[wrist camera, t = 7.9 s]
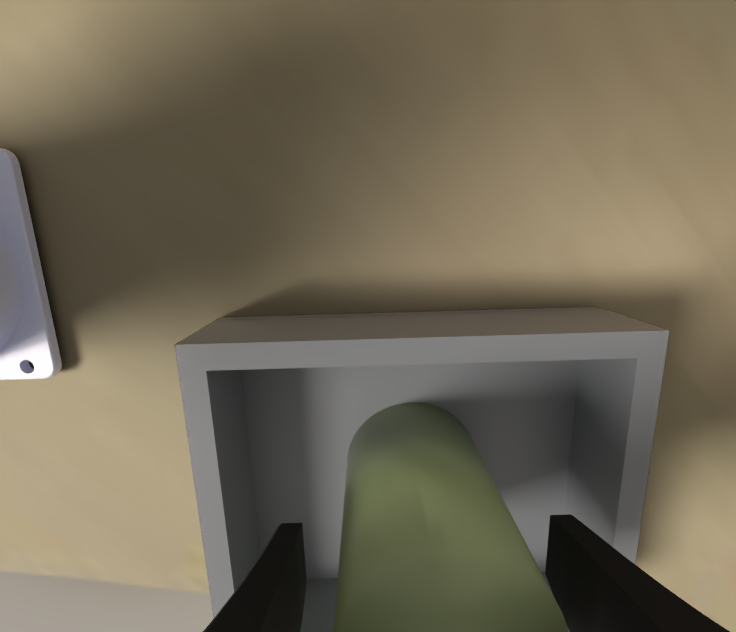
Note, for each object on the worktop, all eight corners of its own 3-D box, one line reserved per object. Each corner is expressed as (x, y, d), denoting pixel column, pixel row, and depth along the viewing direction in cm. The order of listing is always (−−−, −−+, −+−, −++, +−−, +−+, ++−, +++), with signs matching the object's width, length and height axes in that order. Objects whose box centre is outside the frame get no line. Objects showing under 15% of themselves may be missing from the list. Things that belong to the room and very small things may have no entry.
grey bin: (250, 583, 17) (221, 673, 13) (220, 317, 14) (174, 344, 11) (569, 574, 17) (620, 661, 13) (596, 306, 14) (669, 330, 11)
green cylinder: (351, 520, 15) (340, 748, 9) (343, 405, 14) (323, 561, 8) (474, 514, 15) (562, 738, 9) (476, 399, 14) (577, 549, 8)
